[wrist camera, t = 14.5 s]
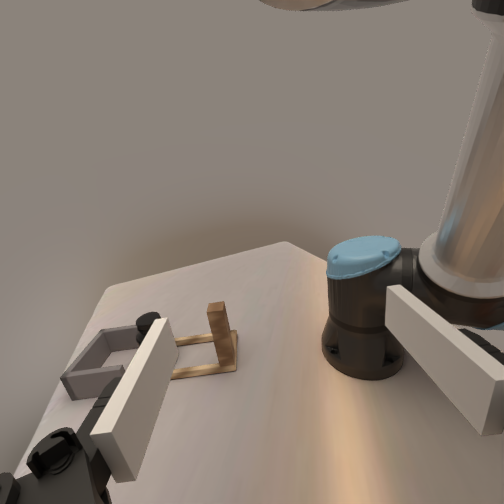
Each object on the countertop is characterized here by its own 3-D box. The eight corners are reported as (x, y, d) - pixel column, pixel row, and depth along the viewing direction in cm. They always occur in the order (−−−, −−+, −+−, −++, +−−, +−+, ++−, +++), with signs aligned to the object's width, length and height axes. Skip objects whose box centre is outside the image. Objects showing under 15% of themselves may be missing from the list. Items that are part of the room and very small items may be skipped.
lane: (72, 400, 49) (59, 377, 47) (109, 348, 62) (101, 329, 60) (129, 392, 49) (119, 369, 47) (154, 342, 62) (147, 323, 60)
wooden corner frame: (132, 384, 50) (107, 326, 45) (151, 346, 60) (133, 295, 56) (236, 370, 50) (222, 310, 45) (237, 334, 60) (226, 282, 55)
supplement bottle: (140, 368, 55) (123, 323, 50) (165, 347, 60) (151, 305, 56) (159, 379, 51) (142, 332, 47) (184, 356, 56) (171, 312, 52)
